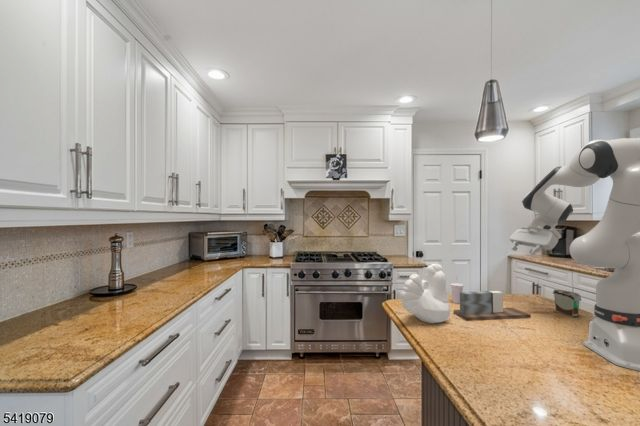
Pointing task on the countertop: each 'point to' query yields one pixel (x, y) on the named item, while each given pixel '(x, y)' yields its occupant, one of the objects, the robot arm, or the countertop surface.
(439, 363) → the countertop surface
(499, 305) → the white cylinder
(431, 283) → the decorative rooster
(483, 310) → the stand
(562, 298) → the food container
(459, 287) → the smoothie
